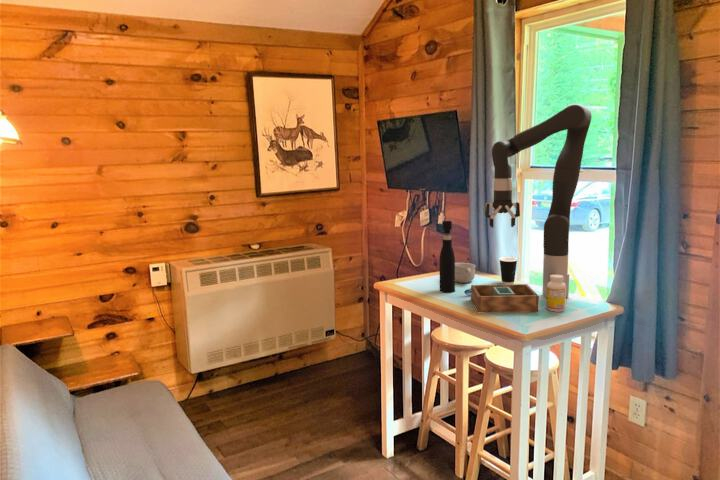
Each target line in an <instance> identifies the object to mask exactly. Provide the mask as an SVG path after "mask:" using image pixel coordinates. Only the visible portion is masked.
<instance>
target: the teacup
mask: <svg viewBox="0 0 720 480" xmlns="http://www.w3.org/2000/svg"><path fill="white" fill-rule="evenodd" d="M476 266H477V265H476V264H474V263H468V262H455V283H462V284H463V283H465V284H469V283H470V282H471V281H473V280H474V279H475V273H476Z"/></svg>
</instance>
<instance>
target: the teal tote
mask: <svg viewBox="0 0 720 480" xmlns="http://www.w3.org/2000/svg"><path fill="white" fill-rule="evenodd" d="M493 296H515V293H514V292H513V291H512V290H511V289H510V288H509V287H493Z"/></svg>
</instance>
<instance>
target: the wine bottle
mask: <svg viewBox="0 0 720 480" xmlns="http://www.w3.org/2000/svg"><path fill="white" fill-rule="evenodd" d="M441 225H442V230H443V239H442V247H441V250H440V254H439V291H440V292H441V293H445V294H451V293H454V292H456V281H455V263H456V257H455V252H454V249H453V245H452V242H453V240H452V235H451V230H452V229H453V228H452V227H453V221H452V220H443V221H442V224H441Z"/></svg>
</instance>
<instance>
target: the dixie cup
mask: <svg viewBox="0 0 720 480" xmlns="http://www.w3.org/2000/svg"><path fill="white" fill-rule="evenodd" d="M498 260H499V267H500V278H501V282H502V285H505V284H514V282H515V278H516V271H517V262H518V258H516V257H511V256H509V257H508V256H505V257H504V256H503V257H499V259H498Z"/></svg>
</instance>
